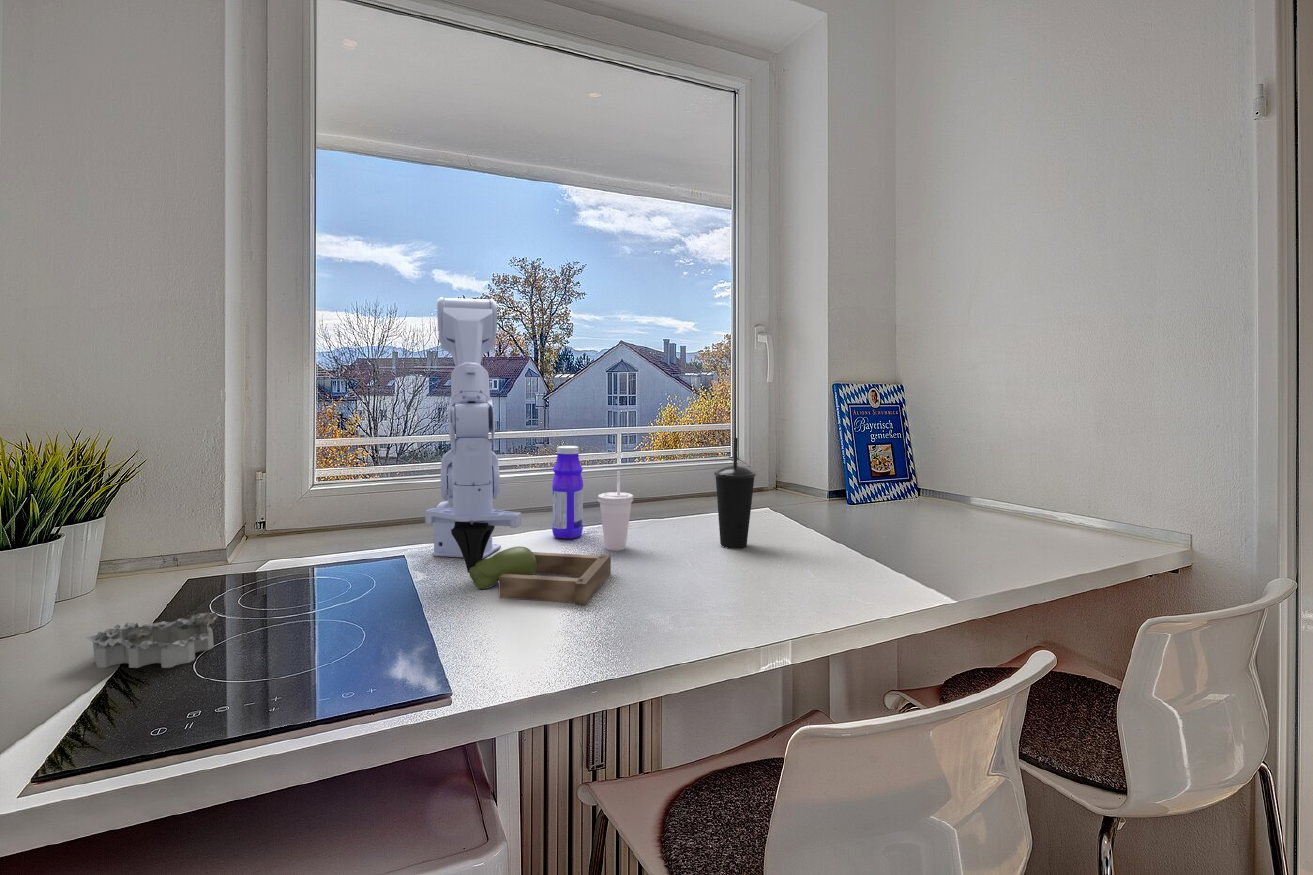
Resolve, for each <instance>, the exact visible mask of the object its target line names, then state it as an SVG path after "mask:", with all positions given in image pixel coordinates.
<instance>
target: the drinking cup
mask: <svg viewBox="0 0 1313 875" xmlns="http://www.w3.org/2000/svg"><path fill="white" fill-rule="evenodd" d="M738 439H739V438H738V437H733V460H732V461H733V465H727V466H724V467H721V468H719V469H718V470H715V471H714V472H713V475H714V476H715V483H716V484H715V485H716V500H717V513H718V527H719V530H718V531H719V542H720V544H721V545H722V546H724V547H723V548H725V547H728V548H727V549H731V548H740V549H744V547H745V548H746V547H747V544H748V536H749V528H750V520H751V510H752V502H753V501H752V500H753V493H754V485H755V484H754V482H755V477H757V473H756V472H755V471H752V470H751V469H750V468H747V467H745V466H740V465H738V447H739V445H738V441H739V440H738ZM720 544H719V545H720ZM721 545H720V546H721ZM722 546H721V547H722Z"/></svg>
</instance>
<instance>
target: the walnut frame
mask: <svg viewBox="0 0 1313 875" xmlns="http://www.w3.org/2000/svg"><path fill="white" fill-rule="evenodd" d="M532 552H533V554H534V556H535V558H536V564H537V565H536V571H535V573H534V574H536V575H533V576H531V575H515V574H502V575H501V576H499V581H498V598H501V599H512V600H513V599H515V600H529V601H530V600H532V601H544V602H545V601H546V602H557V603H558V602H560V603H573V604H574V605H575V606H576V605H577V606H586V605H588V603H589V602H590V601H591V599H592V598H593V597H594V596H595V594H596V592H597V591H598V590H599V589H600V588H601V586H602V585H603V584H604V583H605V581H606V580H607V579H608V578H609V576H610V575H611V574H612V573H611V571H612V569H611V568H612V562H611V558H612V557H611V556H612V555H611V554H600V555H595V554H594V555H593V554H591V555H590V554H577V553H576V554H575V553H574V554H573V553H559V552H558V553H556V552H541V551H538V552H537V551H532ZM537 574H539V575H537ZM541 574H543V575H541ZM554 574H556V576H548V575H554ZM546 575H547V576H546ZM560 576H561V577H560ZM563 576H574V577H563ZM575 576H576V577H575Z"/></svg>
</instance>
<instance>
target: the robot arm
mask: <svg viewBox="0 0 1313 875" xmlns="http://www.w3.org/2000/svg"><path fill="white" fill-rule="evenodd" d="M436 303H437V304H436V306H437V307H436V308H437V311H436V312H437V315H436V317H437V331H438V338H439V339H438V340H439V341H438V342H439V343H440V348H441V349H442V350H444V351H446V352H448V353H450V354H451V356H452V359H453V363H454V366H455V368H453V370H452V371H451V374H450V390H451V391H450V396H451V400H450V401H451V402H450V404H451V406H449V408H448V436H449V439H450V440H449V441H450V445H451V446H450V448H451V449H450V450H448V451H446V453H444V454H443V455H442V458H441V459H440V461H441V463H440V465H441V467H440V498H441V499H442V500H443V501H441V502H439V503H438V504H437V506H436V508H429V509H427V510H425V512H424V514H425V515H424V516H425V517H424V518H425V521H424V522H425V524H433V552H431V555H432V556H433V557H434V556H435V557H453V558H463V560H464V564H465V568H466V572H467V574H469V571H468V570H470V568H471V567H473V566H475V564H476V563H477V562H479V561H480V560H482V559H486V557H488V556H489V555H491V554H492V553H494V552H496V551H497V550H498V549H500V548H501V547H502V545H501V544H499V543H498V544H497V543H493V532H494V531H495V527H496V526H497V527H510V528H511V529H512V528H514V529H517V528H519V527H521V526H522V512H520V511H508V510H507V511H506V510H501V509H495V508H494V507H493V506H494V505H493V503H494V500H497V499H498V497H499V496H500V495H501V494H500V492H501V488H500V487H501V486H500V485H501V481H500V480H501V476H500V466H499V458H498V457H497V454H496V453H495V452H494V451H493V448H492V446H493V443H492V441H494V438H495V433H496V415H495V408H494V404H493V399H492V397H491V393H490V390H491V389H490V376H489V371H488V370H487V368H485V367H484V366H483V365H481V364H482V360H483V358H484V354H487V353H488V352H491V351H492V350H494V348H495V346H494V345H495V344H496V337H497V336H496V334H497V329H498V307H497V306H498V305H497V302H496V301H495V300H494V299H493V298H490V299H477V298H476V299H475V298H451V297H450V298H449V297H447V298H445V297H443V296H440V297H439V298H438V299H437V301H436ZM489 432H490V433H489ZM489 434H491V440H490V439H489Z"/></svg>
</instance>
